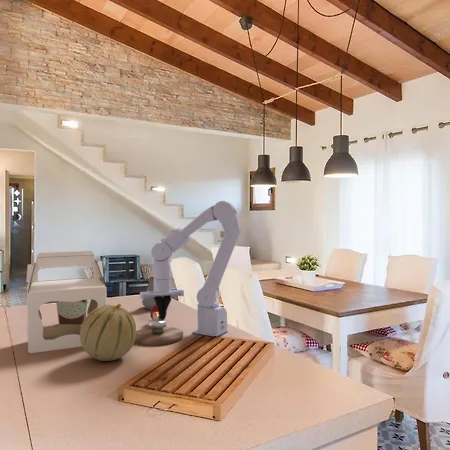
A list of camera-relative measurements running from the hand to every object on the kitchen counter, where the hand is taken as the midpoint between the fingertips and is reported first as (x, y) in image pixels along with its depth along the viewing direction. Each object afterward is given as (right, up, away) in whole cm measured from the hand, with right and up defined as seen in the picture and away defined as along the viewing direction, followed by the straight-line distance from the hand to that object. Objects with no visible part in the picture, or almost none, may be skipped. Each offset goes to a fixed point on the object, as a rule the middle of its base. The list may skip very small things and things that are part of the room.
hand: (162, 318), depth 139 cm
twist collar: (-1, -1, -4) cm, 4 cm away
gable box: (-28, -5, -12) cm, 31 cm away
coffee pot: (-6, -4, +32) cm, 33 cm away
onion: (-3, -4, +10) cm, 11 cm away
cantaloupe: (-10, -5, -28) cm, 30 cm away
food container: (-34, -5, +12) cm, 36 cm away
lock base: (0, -4, -8) cm, 9 cm away
